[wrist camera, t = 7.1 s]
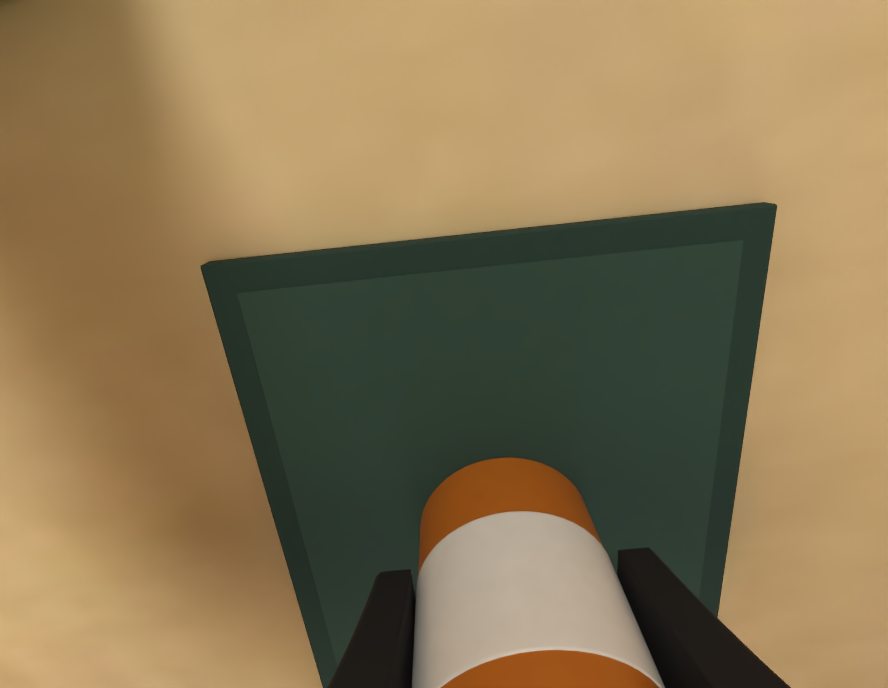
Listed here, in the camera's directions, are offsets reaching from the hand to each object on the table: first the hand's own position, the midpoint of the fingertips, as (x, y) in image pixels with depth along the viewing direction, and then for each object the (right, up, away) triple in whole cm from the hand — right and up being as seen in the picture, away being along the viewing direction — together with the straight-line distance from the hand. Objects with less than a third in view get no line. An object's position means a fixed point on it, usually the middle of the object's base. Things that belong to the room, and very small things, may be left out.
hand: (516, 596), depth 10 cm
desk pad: (0, +1, +2) cm, 2 cm away
